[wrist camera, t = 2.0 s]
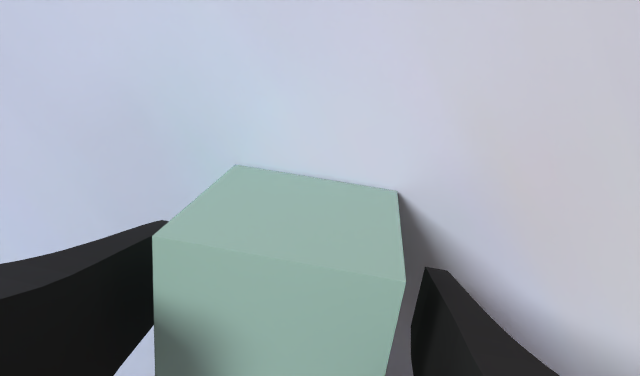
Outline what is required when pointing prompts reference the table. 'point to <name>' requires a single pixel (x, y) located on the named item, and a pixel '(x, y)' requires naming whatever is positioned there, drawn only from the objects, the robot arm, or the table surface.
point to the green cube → (278, 279)
